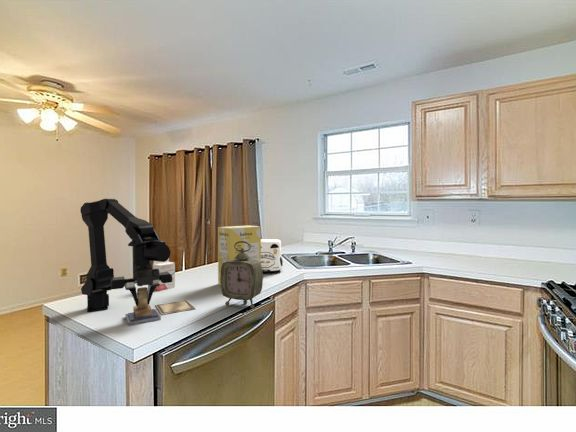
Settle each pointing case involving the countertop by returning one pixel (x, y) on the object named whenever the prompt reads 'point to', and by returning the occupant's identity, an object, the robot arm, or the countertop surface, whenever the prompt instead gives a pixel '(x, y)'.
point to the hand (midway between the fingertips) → (142, 304)
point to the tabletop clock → (241, 277)
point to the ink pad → (132, 319)
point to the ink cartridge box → (165, 267)
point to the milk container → (271, 255)
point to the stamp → (142, 304)
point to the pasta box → (233, 235)
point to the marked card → (175, 307)
